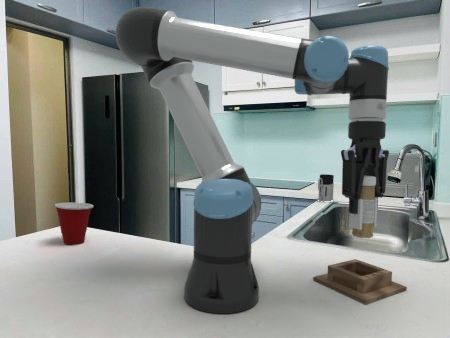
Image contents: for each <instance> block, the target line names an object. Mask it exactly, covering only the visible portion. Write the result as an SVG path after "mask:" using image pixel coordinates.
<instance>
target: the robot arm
mask: <svg viewBox="0 0 450 338" xmlns="http://www.w3.org/2000/svg"><path fill="white" fill-rule="evenodd" d="M115 40H116V44H117V46H118V49H119V51H120V52H121V53H122V54H123V56H124V57H125V58H127V59H128V60H129V61H131V62H133V63H134V64H136V65H138V66H140V68H141V69H142V71H143V73H144V75H145V77H146V79H147V81H148V83H149V85H150V87H151V88H153V89H156V90H158V91H159V93H161V95H162V98H163V100H164V102H165V103H166V107H167V108H168V111H169V112H170V114H171V117H172V119H173V120H174V122H175V125H176V127H177V128H178V130H179V132H180V136H181V137H182V139H183V141H184V144H185V146H186V147H187V149H188V152H189V154H190V156H191V158H192V159H193V162H194V164H195V166H196V168H197V170H198V172H199V174H200V176H201V183H199V184H198V185H197V186H196V188H195V190H194V197H193V202H192V204H193V205H192V206H193V209H194V210H193V259H192V263H191V265H190V269H189V272H188V274H187V277H186V281H185V283H184V291H183V292H184V293H183V294H184V295H183V296H184V297H183V298H184V300H185V302H186V303H187V304H188V305H189V306H191V307H192V308H194V309H196V310H199V311H201V312H207V313H214V314H232V313H233V314H234V313H239V312H242V311H247V310H249V309H251V308H253V307H254V306H255V305H256V304H257V303H258V302H259V297H260V296H259V295H260V294H259V293H260V289H259V288H260V287H259V283H258V280H257V277H256V276H257V275H256V273H255V269H254V266H253V262H252V236H253V235H252V234H253V233H252V231H253V224H254V223H255V222H256V221H257V219H258V218H259V215H260V213H261V210H262V196H261V193H260V191H259V189H258V188H257V186H256V185H254V183H252V182H251V180H250V178H249V175H248V174H247V171H246V170H245V167H244V166H243V165H241V164H237V163H235V161H234V159H233V157H232V155H231V153H230V151H229V149H228V147H227V145H226V143H225V141H224V139H223V137H222V135H221V132H220V131H219V129H218V126H217V124H216V122H215V120H214V118H213V116H212V114H211V112H210V110H209V108H208V106H207V104H206V101H205V100H204V98H203V95H202V93H201V91H200V90H199V88H198V85H197V83H196V82H195V79H194V77H193V75H192V74H193V72H194V68H195V65H194V62H198V63H204V64H209V65H214V66H215V65H216V66H220V67H226V68H231V69H235V70H242V71H247V72H253V73H259V74H264V75H269V76H275V77H280V78H286V79H292V80H294V92H295V94H297V95H307V96H313V95H315V96H316V95H337V94H338V95H339V94H342V95H346V94H348V96H349V99H348V100H349V102H348V120H349V121H350V122H349V123H348V129H347V130H348V133H347V138H348V139H349V140H351V144H350V146H349V148H348V149H341V151H340V156H341V160H342V172H341V174H342V175H341V180H342V181H341V195H342V196H344V197H345V198H348V213H349V218H348V219H349V222H348V225H349V226H348V227H349V228H352V229H353V228H355V229H359V230H361V229H362V211H363V199H360V196H361V190H362V185H363V179H364V175H365V176H374V177H376V185H375V196H374V199H375V204H374V222H373V228H376V227H377V225H378V223H377V222H378V210H379V208H378V207H379V198H383V197H384V195H385V193H386V188H387V186H386V185H387V183H386V182H387V167H388V166H387V165H388V159H389V155H390V151H389V150H388V149H383V148H382V144H381V140H384V139H385V138H386V132H387V131H386V130H387V129H386V128H387V127H386V126H387V123H386V122H385V121H383V120H385V119H386V118H387V98H388V96H387V95H388V79H389V76H388V75H389V70H390V68H389V52H388V49H387V48H386V47H385V46H382V45H376V44H375V45H373V44H372V45H366V46H359V47H356V48H354V49H352V50H351V53H349V49H348V47H347V45H346V43H344V41H343V40H342V39H341V38H338V37H337V36H332V35H325V36H321V37H318V38H316V39H309V38H300V37H295V36H289V35H283V34H278V33H272V32H265V31H260V30H259V31H258V30H254V29H247V28H241V27H236V26H231V25H230V26H229V25H223V24H217V23H212V22H205V21H199V20H195V19H187V18H181V17H178V16H177V14H176V13H175V12H174V11H173V10H168V9H161V8H155V7H149V6H136V7H133V8H130V9H128V10H126V11H125V12H124V13H123V14H122V15H121V16H120V18H119V19H118V21H117V23H116V26H115Z"/></svg>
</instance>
